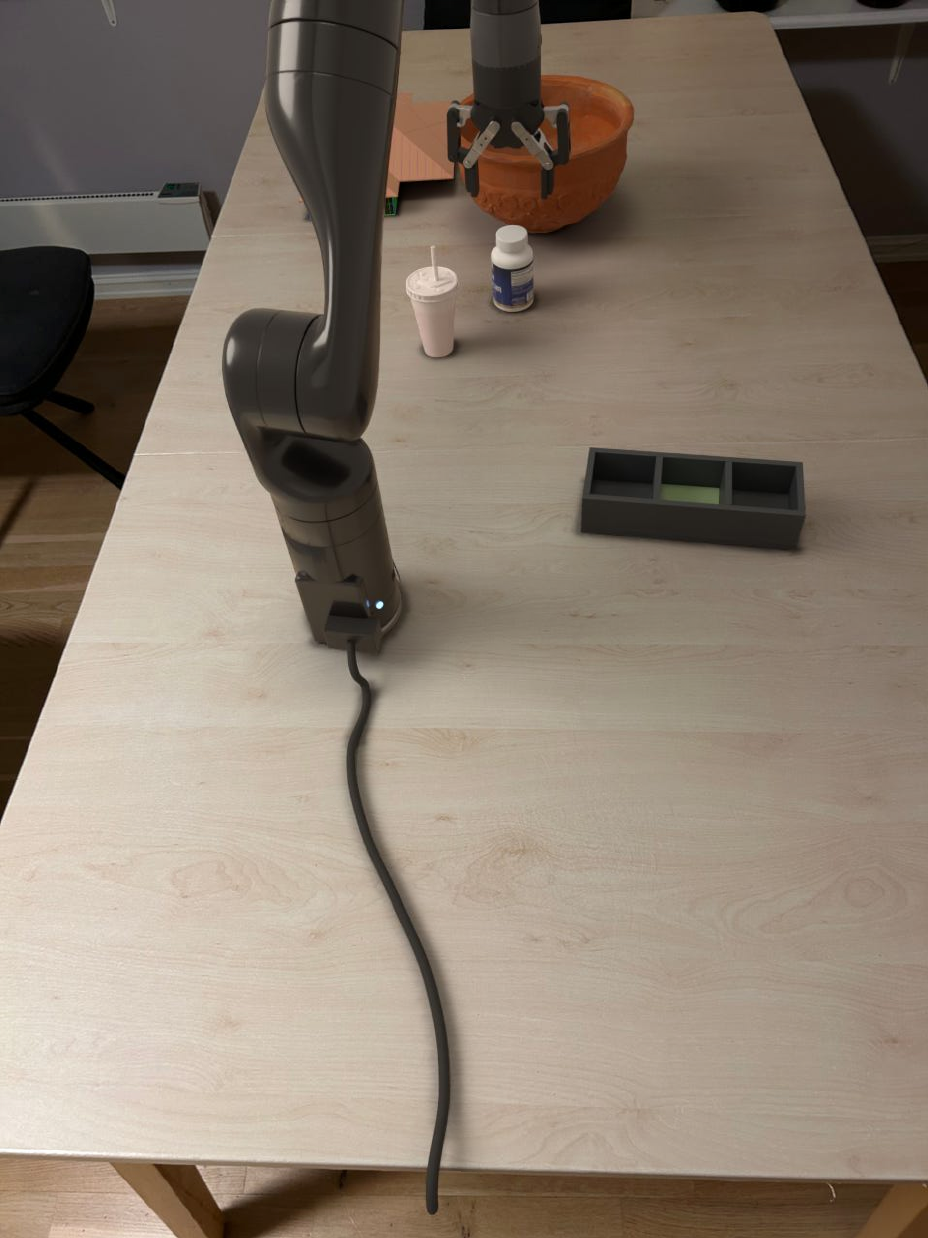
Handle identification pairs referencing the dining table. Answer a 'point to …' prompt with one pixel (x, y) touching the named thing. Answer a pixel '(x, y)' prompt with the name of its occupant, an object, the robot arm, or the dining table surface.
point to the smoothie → (434, 306)
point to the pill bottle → (512, 269)
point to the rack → (694, 498)
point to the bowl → (579, 183)
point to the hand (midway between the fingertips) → (510, 195)
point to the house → (417, 144)
